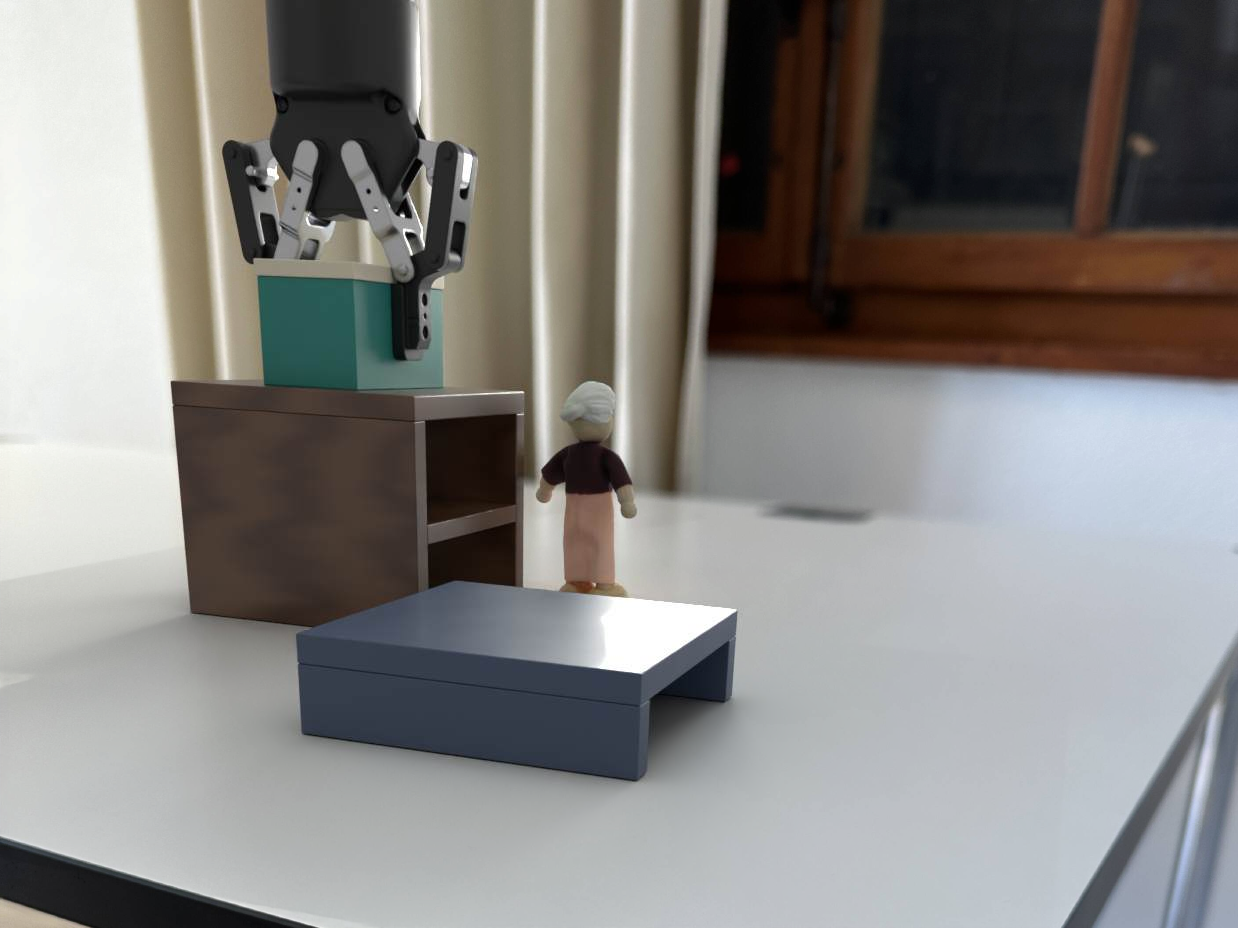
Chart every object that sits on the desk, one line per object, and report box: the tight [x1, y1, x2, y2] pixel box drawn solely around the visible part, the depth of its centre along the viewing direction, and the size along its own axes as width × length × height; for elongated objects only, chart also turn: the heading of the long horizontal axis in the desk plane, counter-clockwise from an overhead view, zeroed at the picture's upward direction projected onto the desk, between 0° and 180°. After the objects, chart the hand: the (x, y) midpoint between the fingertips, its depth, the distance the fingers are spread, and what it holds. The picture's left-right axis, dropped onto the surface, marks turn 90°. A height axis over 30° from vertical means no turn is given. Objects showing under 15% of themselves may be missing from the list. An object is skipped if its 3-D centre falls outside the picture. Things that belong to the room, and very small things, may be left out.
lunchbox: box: [253, 258, 445, 390], centre depth 71 cm, size 6×10×6 cm, turn 163°
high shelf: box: [170, 378, 525, 628], centre depth 75 cm, size 14×14×12 cm
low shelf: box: [295, 581, 739, 781], centre depth 55 cm, size 14×14×4 cm
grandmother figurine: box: [535, 380, 638, 598], centre depth 81 cm, size 8×4×13 cm, turn 65°
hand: (356, 356), depth 72 cm, fingers closed on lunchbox, 5 cm apart
